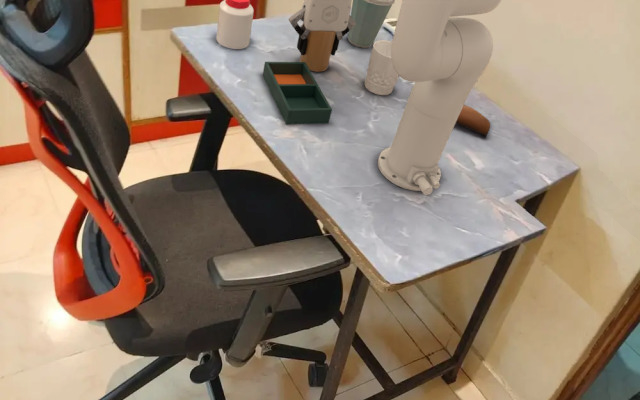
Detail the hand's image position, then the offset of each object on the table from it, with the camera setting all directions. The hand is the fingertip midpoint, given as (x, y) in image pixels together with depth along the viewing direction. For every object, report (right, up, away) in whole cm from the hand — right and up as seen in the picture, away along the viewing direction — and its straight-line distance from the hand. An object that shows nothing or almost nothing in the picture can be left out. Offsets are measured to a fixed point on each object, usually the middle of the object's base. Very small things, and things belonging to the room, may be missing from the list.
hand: (316, 51), depth 137 cm
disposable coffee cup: (+11, +6, +16) cm, 21 cm away
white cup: (+14, -8, +1) cm, 17 cm away
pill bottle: (-20, +3, +3) cm, 20 cm away
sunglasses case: (+30, -16, -2) cm, 34 cm away
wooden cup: (-1, -2, +2) cm, 3 cm away
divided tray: (-5, -13, -10) cm, 17 cm away
